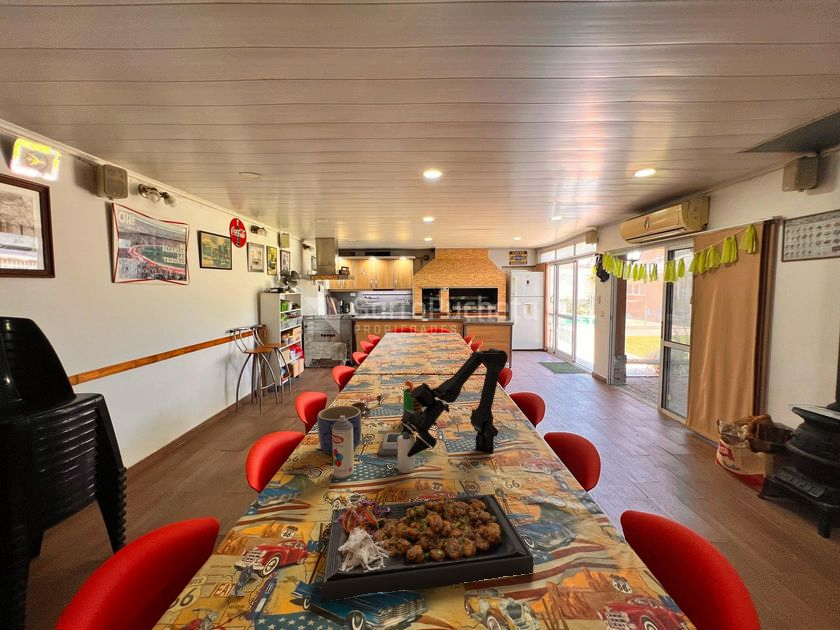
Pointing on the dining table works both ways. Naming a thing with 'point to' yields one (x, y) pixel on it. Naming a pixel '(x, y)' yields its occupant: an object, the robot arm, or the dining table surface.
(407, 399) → the motor
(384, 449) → the grey square tray
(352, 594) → the food platter
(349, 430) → the aerosol can
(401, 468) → the white bottle
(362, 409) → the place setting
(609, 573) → the dining table surface
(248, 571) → the toy shark
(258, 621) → the dining table surface
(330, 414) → the planter
